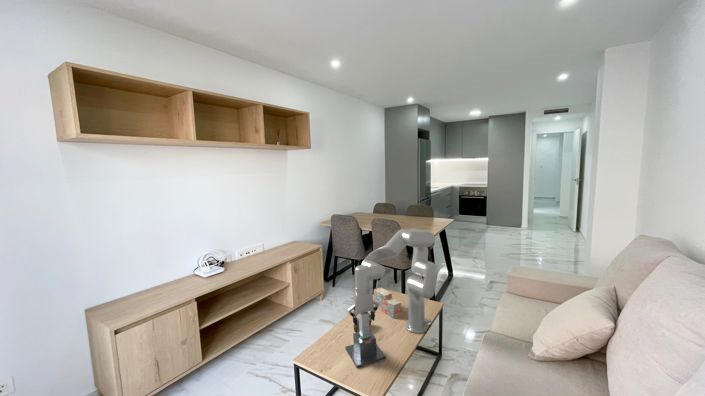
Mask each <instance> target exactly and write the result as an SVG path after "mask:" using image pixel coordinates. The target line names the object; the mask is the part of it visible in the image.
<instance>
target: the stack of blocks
mask: <svg viewBox="0 0 705 396" xmlns="http://www.w3.org/2000/svg"><path fill="white" fill-rule="evenodd" d="M373 301H375V302H378V303H379V306H378V309H377V310H380V311H381V312H383V313H385V314H386V315H387V316H389V317H390V318H392V319H396V318H399V317H401V316H402V315H401V314H402V312H401V311H402V307H401V306H402V305H401V304H402V302H401V301H398V299H396V298H393V296H392V292H390V291H388V290H387V289H384V288H383V287H377V288H374V289H373ZM374 306H375V304H374Z"/></svg>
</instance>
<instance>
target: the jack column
mask: <svg viewBox="0 0 705 396" xmlns="http://www.w3.org/2000/svg"><path fill="white" fill-rule="evenodd" d="M369 314H370V312H369V311H368V312H364V313H360V314H358V318H359V335H360V338H361V339H362V340H363V339H367V338H370V332H371V331H370V332H369V330H370V327H369Z"/></svg>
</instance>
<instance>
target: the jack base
mask: <svg viewBox="0 0 705 396" xmlns="http://www.w3.org/2000/svg"><path fill="white" fill-rule="evenodd" d="M369 332H370V338H367V339H363V340H362V339H361V338H360V335H359V332H357V333H356V332H354V333H352V334H353V336H352V337H353V343H352V344H349V345H347V346H345V350H346V352H347V354H348V355H349V357H350V359H351V360H352V362H353V363H354V366H355V368H356V369H359V368H363V367H365V366H368V365H371V364H374V363H377V362H381V361H384V360H387V356H386V354H385V353H384V351H382V350H381V348H380V347H379V345H378V344H377V337H376V336H375V335H374V334H373V333H372V331H371V330H370V329H369Z"/></svg>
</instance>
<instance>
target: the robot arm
mask: <svg viewBox="0 0 705 396" xmlns="http://www.w3.org/2000/svg"><path fill="white" fill-rule="evenodd" d="M434 243H435V235H434V233H432V231H427V230H423V229H418V228H410V229H406V228H401V229H398V230H397V231H396V232H395V234H394V235H393V236H392V237H391V238H390V239H389V240H388V241H387V243H386V244H385V245H383V246H381V247H379V248H376V249H374V250H373V251H371V252H369V254H368V255H367V256H366V257H365V258H364V259H363V261H362V262H361V264H360V265H357V266H356V267H355V268H354V278H355V279H354V281H355V282H354V283H355V291H354V293H353V300H352V305H351V306H350V307H348V309H347V311H348V313H349V315H350V316H351V317H352V322H353V325H354V324H355V325H357V319H358V318H357V316H359V314H360V313H364V312H368V313H369V314H370V315H371V319H372V321H375V318H376V312H377V310H379V309H378V306H379V303H378V302H375V301H374V295H373V293H372V289H373V285H371V280H378V279H381V278H383V277H384V276H385V273H386V269H385V267H384V266H383V265H382V264H380V263H378V262H380V261H382V260H384V259H385V260H386V259H392V258H396V257H398V255H399V254H400V253H401V252H402V251H403V250H404V249H405V248H406V246H408V247H412V248H413V249H412V251H413V252H412V260H411V268H410V269H411V272H412V273H413V274H415V275H410V276H409V277H407V279H406V281H405V283H406V284H405V288H406V291H407V312H408V313H407V315H408V317H407V318H408V321H407V322H406V323H405V328H406V330H407V331H408V332H410V333H413V334H423V333H425V332H427V330H428V324H431V323H432V319H431V318H427V317H425V315H426V314H425V299H431V298H433V296H434V295H435V292H436V288H437V287H436V286H437V280H438V274H439V272H438V271H439V269H438V266H437V265H436V263H434V262H432V261H429V260H428V258H429V249H428V247H429V248H430V247H431V246H433V244H434ZM416 275H417V276H416ZM374 304H375V306H374ZM352 311H353V312H352Z"/></svg>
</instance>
